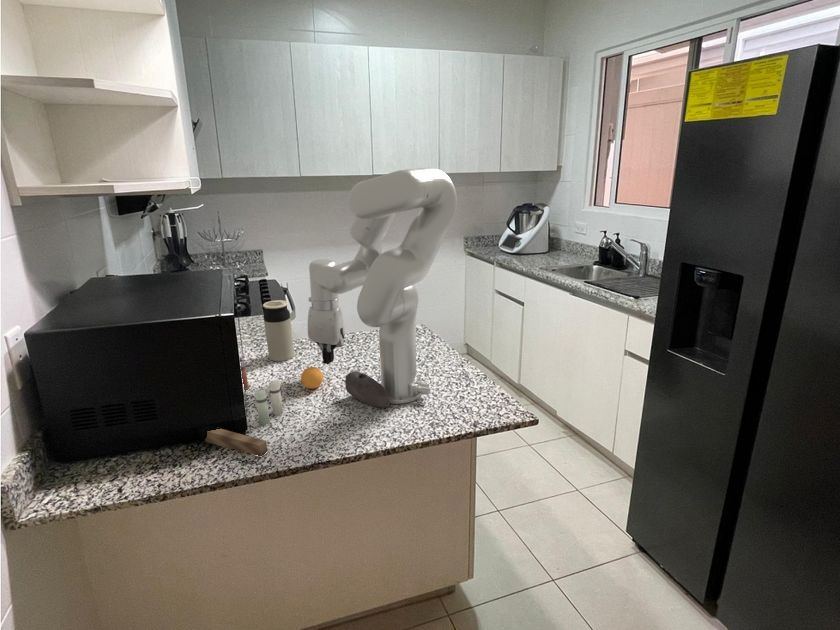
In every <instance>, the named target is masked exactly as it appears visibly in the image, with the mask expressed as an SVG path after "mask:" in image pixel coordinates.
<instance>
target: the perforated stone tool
mask: <svg viewBox="0 0 840 630" xmlns="http://www.w3.org/2000/svg"><path fill="white" fill-rule="evenodd" d="M344 384H345V390H346V392H347V393H348V394H349V395H350V396H352V397H353V398H355V399H357V400H358V401H360V402H362V403H365V404H367V405H370V406H373V407H377V408H381V409H382V408H384V409H385V408H387V407H389V406H390V404H391V403H390V397H389V394H388V393H387V391H386V390H385V388H384V387H383V386H382V385H381V382H379V381H377V380H375V379H374V378H373V377H371V376H369V375H368V374H365V373H363V372H360V371H358V370H354V371H350V372H349V373H348V374H346V375H345V382H344Z"/></svg>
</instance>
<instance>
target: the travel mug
mask: <svg viewBox="0 0 840 630" xmlns="http://www.w3.org/2000/svg"><path fill="white" fill-rule="evenodd" d="M288 305H289V302H288V301H287V300H282V299H281V300H280V299H279V300H269V301H266V302H265V303H263V304H262V307H263V308H264V312H263V323H264V330H265V337H266V339H265V340H266V344H267V345H266V346H267V354H268V359H269V360H270V361H274V362H284V361H288V360H290V359H293V357H294V356H295V346H294V340H293V337H294V336H293V329H292V321H291V312H290V310H289V309H288Z"/></svg>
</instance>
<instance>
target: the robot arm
mask: <svg viewBox="0 0 840 630" xmlns="http://www.w3.org/2000/svg"><path fill="white" fill-rule="evenodd" d="M457 196H458V195H457V191H456V187H455V185H454V183H453V180H452V179H451V178H450V176H448V174H447V173H445V172H444V171H443V170H441V169H438V168H435V167H418V168H417V167H416V168H407V169H400V170H395V171H392V172H389V173H385V174H383V175H379V176H376V177H373V178H370V179H366V180H362V181H360V182H359V181H358V183H356V184H355V185H354V186H353V187H351V190H350V192H349V195H348V200H347V201H348V207H349V210H350V212H351V213H352V215H354V216H355V217H354V219H353V222H352V224H351V225H350V228H349V233H350V236H351V238H352V239H353V240H354V241H355V242H356V243H358V245H360V247H359V249H358V251H357V253H356V255H355V257H354V259H352V260H349V261H346V262H341V263H340V264H339V263H338V264H337V263H336V262H335V261H334V260H333V259H328V258H327V259H326V258H322V259H321V258H319V259H314V260H312V261H311V262H310V263H309V266H308V269H309V270H308V271H309V272H308V273H309V286H310V297H308V302H310V303H311V306H309V309H308V315H307V336H308V339H309V340H310V341H311V342H312V343H315V344H317V346H318V347H319V350H320V352H321V353H322V354H321V356H322V363H323V364H325V365H330V364H331V363H332V362H334V360H335V351H334V350H335V349H337V348H342V347H343V346H345V342H344V340H345V332H346V331H345V323H344V317H343V312H342V309H341V307H340V305H339V294H344V293H347V292H349V291H350V292H351V291H352V290H355V289H357V288H360V287H361V290H360V293H359V295H358V298H357V304H356V309H357V311H356V312H357V314H358V317H359V319H360V321H361V323H363V324H364V325H365V326H368V327H370V328H378V329H379V330H378V339H379V340H378V342H379V359H380V360H379V361H380V362H379V363H380V381H381V382H380V384H381V385H382V386H383V387H384V388H385V390H386V391H387V393H388V394H389V397H390V404H396V405H397V404H398V405H400V404H401V405H402V404H407V403H411V402H414V401H417V400H418V399H419V398H420V397H421V396H422V395H426V396H430V393H431V388H430V384H429V383H426V382H424V383H423V382H422V381H421V376H419V375H417V347H416V346H417V344H416V343H417V337H416V336H417V335H416V334H417V333H416V329H417V328H416V327H417V325H416V324H417V313H418V308H419V294H418V293H419V292H418V290H417V288H416V286H415V285H416V284H418V283H420V282H421V281H422V280H424V279H425V278H426V277H427V276H428V273H429V271H430V269H431V268H432V265H433V262H435V258H436V256H437V254H438V253H439V250H440V248H441V245H442V243H443V241H444V239H445V237H446V235H447V233H448V231H449V229H450V227H451V225H452V224H453V221H454V218H455V215H456V212H457V208H458V207H457V206H458V197H457ZM416 209H420V210H419V211H418V213H417V215H415V217H414V218H413V219H412V221H411V222H410V224H409V226H408V229H407V232H406V234H405V236H404V238H403V240H402V241H401V244H400V245H398V246H397V247H395V248H392V249H388V250H386V251H383V248H382V242H383V239H385V237H386V234H387V232H388V230H389V229H390V226H391V224H392V223H393V221H394V219H395V217H396V215H397V213H402V212H407V211H412V210H416Z"/></svg>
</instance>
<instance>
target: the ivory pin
mask: <svg viewBox="0 0 840 630" xmlns="http://www.w3.org/2000/svg"><path fill="white" fill-rule="evenodd" d="M268 385H269V387H268V388H269V393H270V399H271V409H272V415H273V414H274V415H273V416H275V415H278V416H281V415H282V414H283V413H284V411H283V403H282V395H281V394H282V393H281V387H280V381H278V380H271V381H269V383H268ZM280 414H281V415H280Z"/></svg>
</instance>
